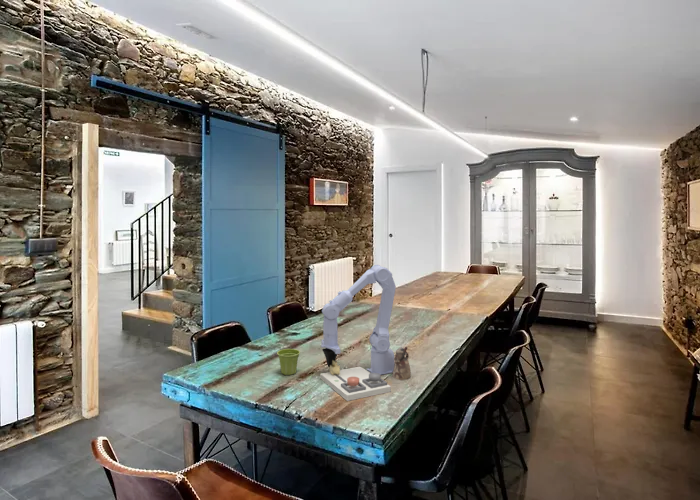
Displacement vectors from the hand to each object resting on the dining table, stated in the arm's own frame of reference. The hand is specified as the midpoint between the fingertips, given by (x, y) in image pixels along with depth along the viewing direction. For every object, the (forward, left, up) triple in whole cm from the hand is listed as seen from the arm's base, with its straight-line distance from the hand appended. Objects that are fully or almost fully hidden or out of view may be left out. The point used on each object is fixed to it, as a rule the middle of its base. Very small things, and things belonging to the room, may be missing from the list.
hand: (330, 366), depth 175 cm
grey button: (-9, +20, 0) cm, 22 cm away
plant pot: (+14, -11, -4) cm, 18 cm away
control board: (-4, +13, -4) cm, 14 cm away
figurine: (-25, +14, -4) cm, 29 cm away
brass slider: (0, +4, -1) cm, 4 cm away
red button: (0, +20, 0) cm, 20 cm away
